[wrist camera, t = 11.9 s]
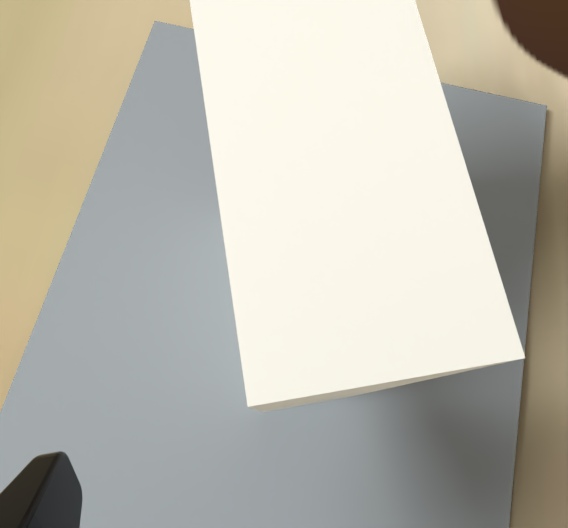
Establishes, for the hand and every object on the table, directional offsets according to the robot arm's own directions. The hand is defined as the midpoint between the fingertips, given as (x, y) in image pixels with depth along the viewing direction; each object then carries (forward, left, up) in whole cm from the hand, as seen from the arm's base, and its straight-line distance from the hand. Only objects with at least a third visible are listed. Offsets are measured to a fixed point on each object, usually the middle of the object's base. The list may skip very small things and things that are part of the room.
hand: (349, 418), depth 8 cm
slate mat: (+4, +1, -8) cm, 9 cm away
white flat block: (+4, +2, -8) cm, 9 cm away
